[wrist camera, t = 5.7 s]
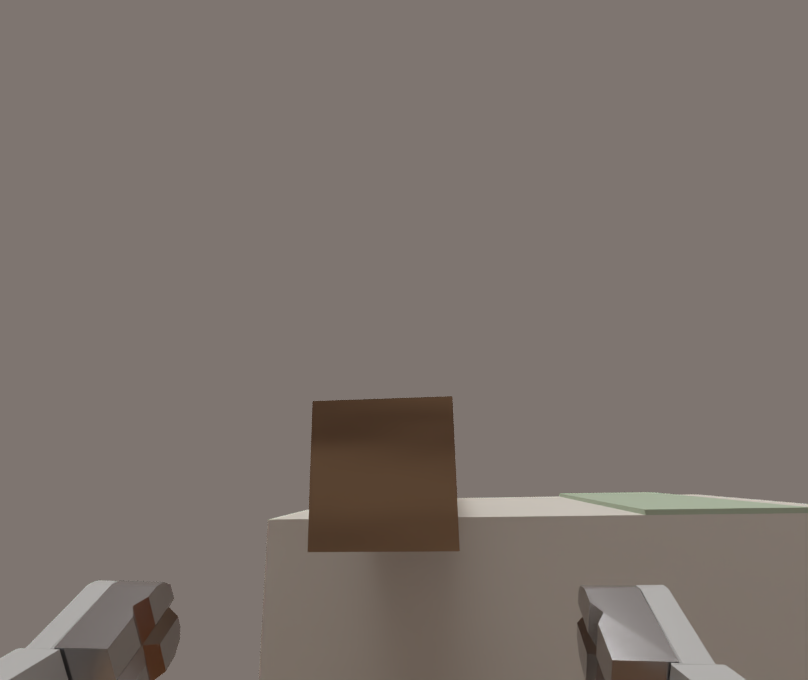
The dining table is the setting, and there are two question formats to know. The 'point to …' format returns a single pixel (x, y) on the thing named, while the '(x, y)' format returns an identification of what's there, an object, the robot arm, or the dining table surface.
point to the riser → (538, 589)
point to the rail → (383, 476)
